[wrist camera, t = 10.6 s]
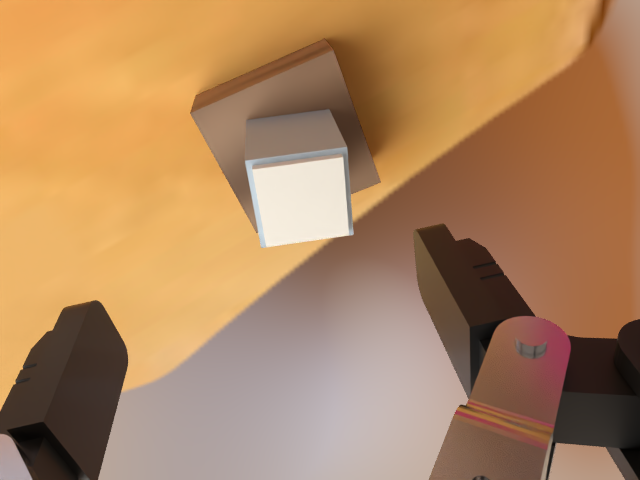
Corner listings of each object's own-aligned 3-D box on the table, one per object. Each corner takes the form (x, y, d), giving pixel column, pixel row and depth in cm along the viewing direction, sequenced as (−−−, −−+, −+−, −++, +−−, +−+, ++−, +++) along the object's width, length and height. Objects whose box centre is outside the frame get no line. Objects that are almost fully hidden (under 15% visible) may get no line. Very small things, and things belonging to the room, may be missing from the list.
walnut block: (195, 94, 32) (190, 113, 29) (323, 37, 31) (333, 50, 28) (255, 205, 37) (256, 233, 34) (368, 158, 36) (380, 182, 33)
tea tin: (246, 119, 29) (244, 164, 23) (329, 109, 30) (349, 150, 24) (259, 195, 32) (261, 252, 26) (335, 184, 32) (355, 239, 26)
